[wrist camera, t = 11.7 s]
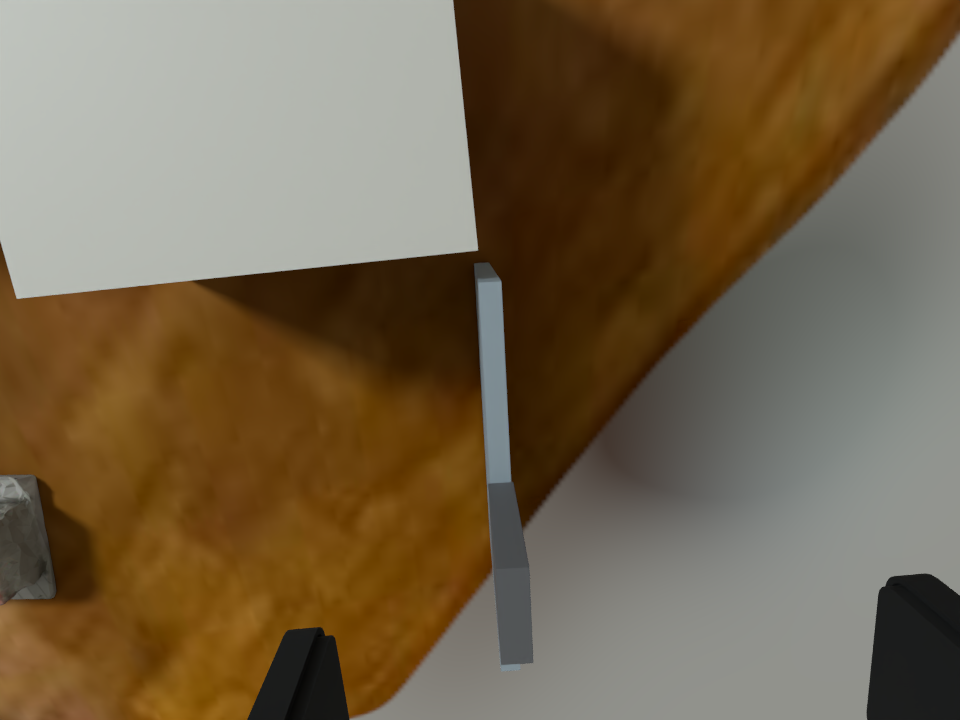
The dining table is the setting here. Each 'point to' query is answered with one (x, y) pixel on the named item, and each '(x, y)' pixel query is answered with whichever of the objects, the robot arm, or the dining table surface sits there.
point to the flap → (502, 481)
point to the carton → (226, 138)
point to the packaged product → (23, 542)
